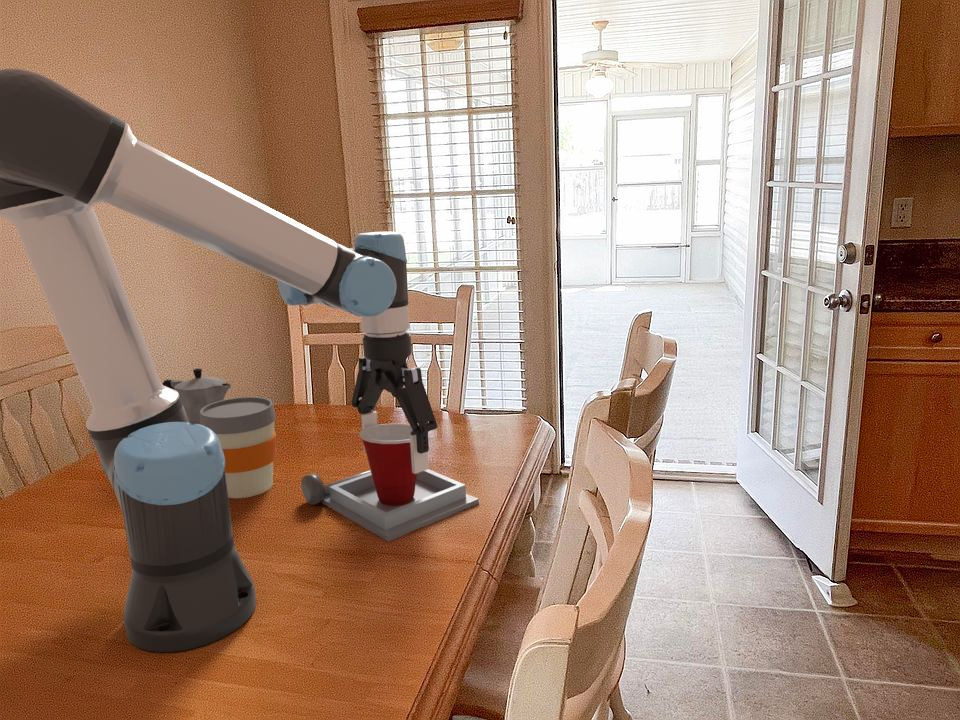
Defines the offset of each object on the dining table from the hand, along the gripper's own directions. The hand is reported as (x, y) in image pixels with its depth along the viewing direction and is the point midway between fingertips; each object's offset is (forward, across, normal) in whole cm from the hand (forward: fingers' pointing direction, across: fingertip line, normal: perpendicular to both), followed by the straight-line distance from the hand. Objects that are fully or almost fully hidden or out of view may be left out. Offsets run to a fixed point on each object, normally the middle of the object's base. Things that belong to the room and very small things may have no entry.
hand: (395, 460), depth 117 cm
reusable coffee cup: (+8, +25, +15) cm, 30 cm away
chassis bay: (+8, +1, 0) cm, 8 cm away
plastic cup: (+7, 0, 0) cm, 7 cm away
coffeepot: (+8, +47, +14) cm, 50 cm away
